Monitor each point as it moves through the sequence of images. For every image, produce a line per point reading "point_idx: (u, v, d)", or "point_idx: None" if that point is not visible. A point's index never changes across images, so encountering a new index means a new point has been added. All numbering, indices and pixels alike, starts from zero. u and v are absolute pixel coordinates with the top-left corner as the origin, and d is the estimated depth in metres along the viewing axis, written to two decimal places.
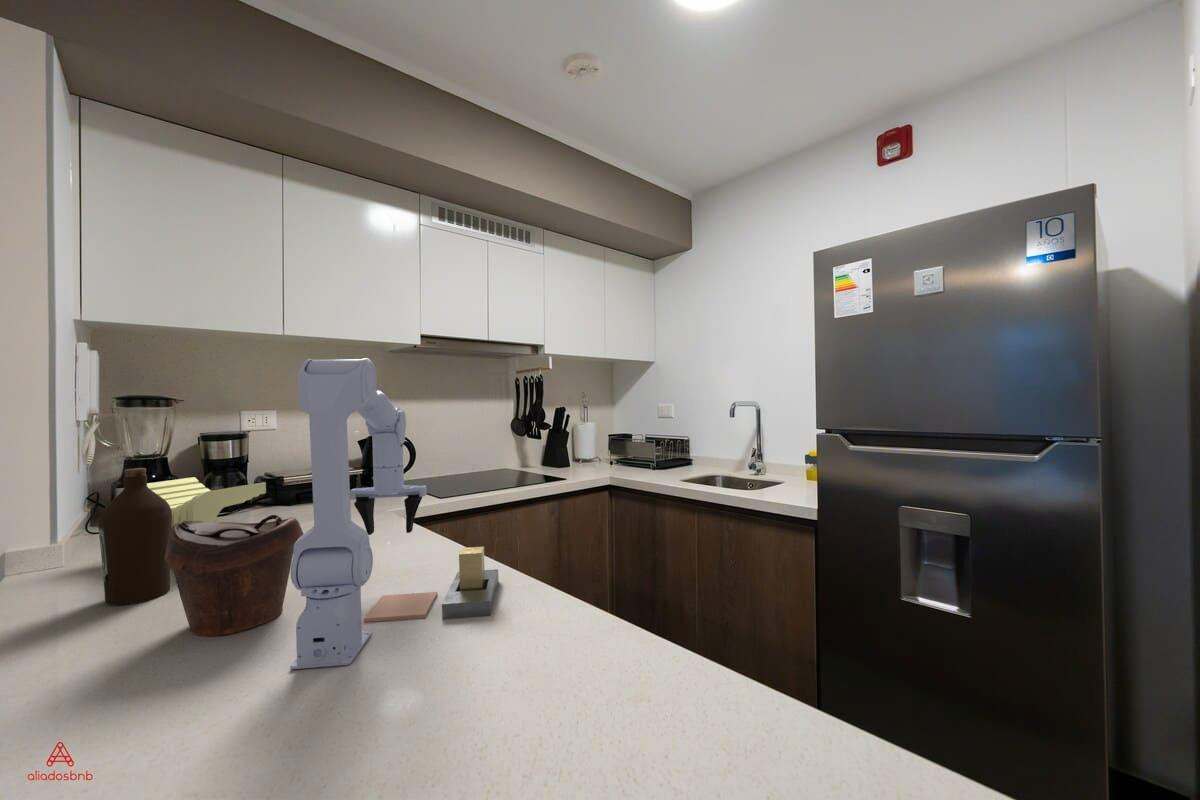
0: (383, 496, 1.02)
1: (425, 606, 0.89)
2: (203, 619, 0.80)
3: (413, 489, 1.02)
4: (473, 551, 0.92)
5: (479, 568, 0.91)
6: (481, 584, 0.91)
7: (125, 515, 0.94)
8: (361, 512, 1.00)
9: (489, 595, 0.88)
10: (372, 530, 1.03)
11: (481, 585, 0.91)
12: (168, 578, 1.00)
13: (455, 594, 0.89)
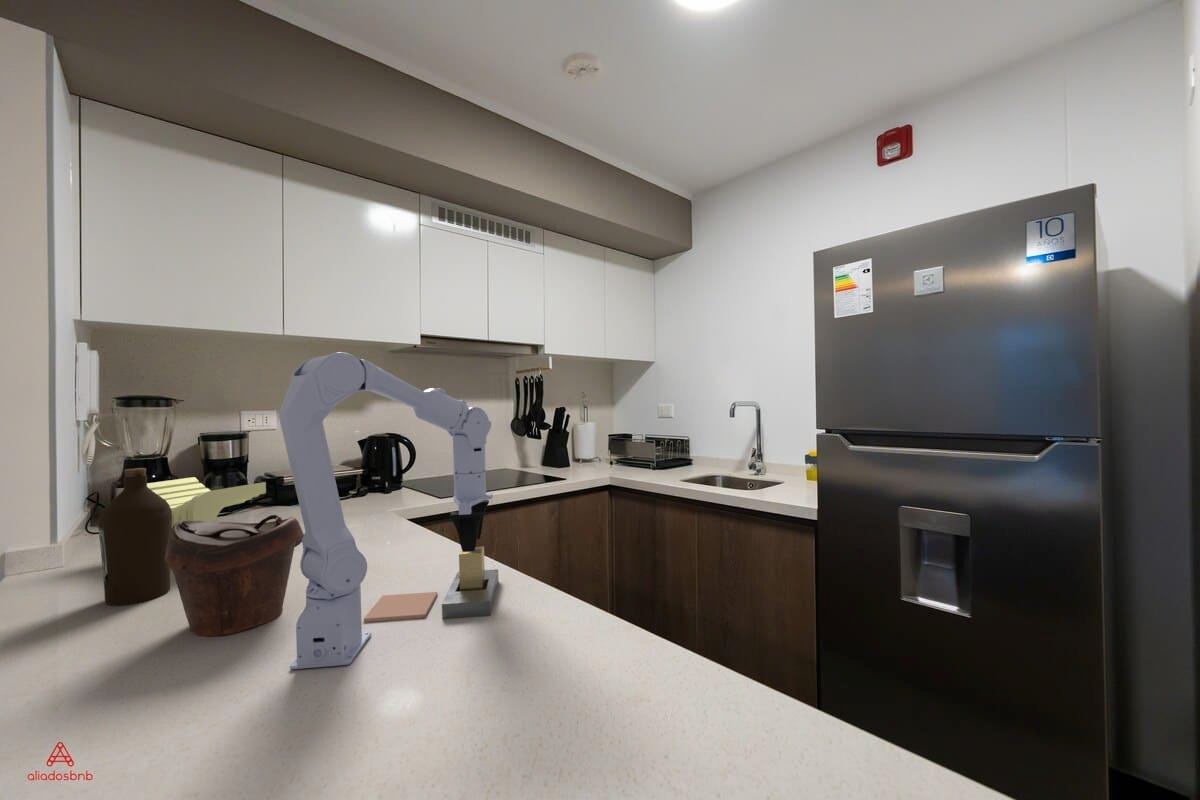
0: None
1: (425, 606, 0.89)
2: (203, 619, 0.80)
3: (458, 503, 0.88)
4: (473, 551, 0.92)
5: (479, 568, 0.91)
6: (481, 584, 0.91)
7: (125, 515, 0.94)
8: None
9: (489, 595, 0.88)
10: None
11: (481, 585, 0.91)
12: (168, 578, 1.00)
13: (455, 594, 0.89)
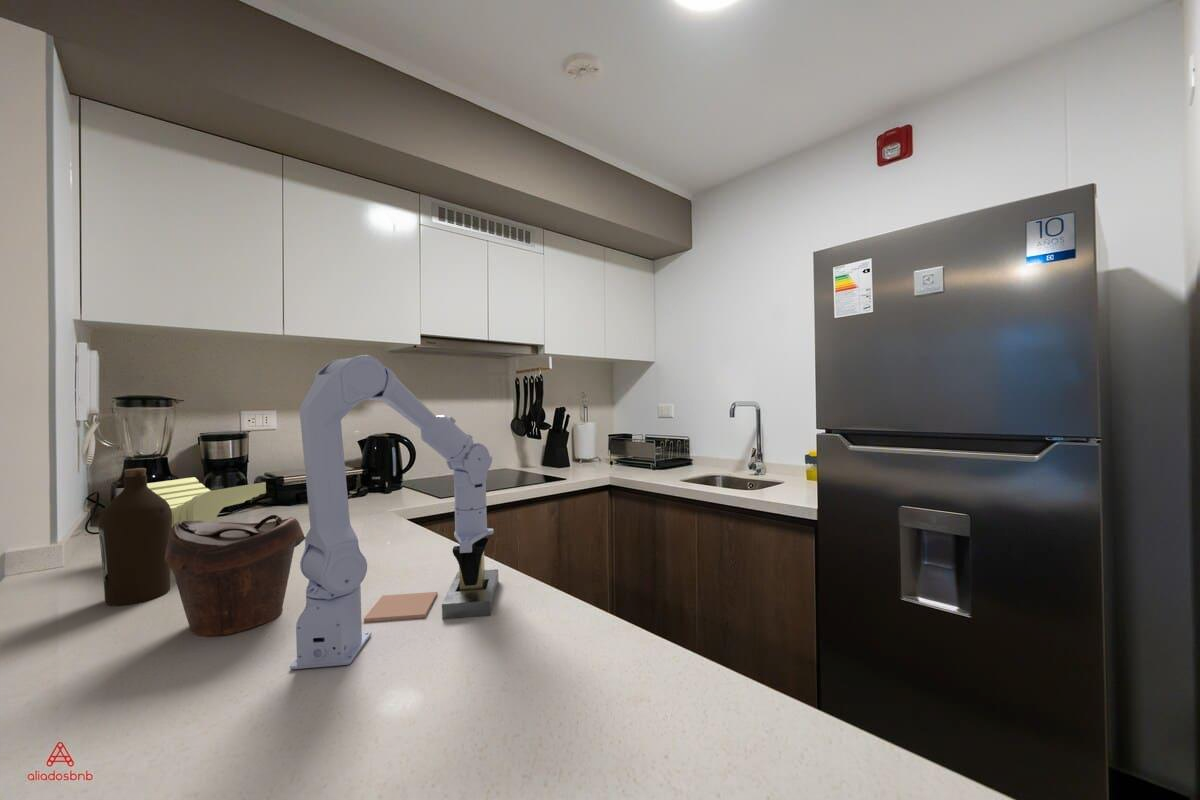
0: None
1: (425, 606, 0.89)
2: (203, 619, 0.80)
3: (459, 540, 0.88)
4: None
5: (479, 568, 0.91)
6: (481, 584, 0.91)
7: (125, 515, 0.94)
8: None
9: (489, 595, 0.88)
10: None
11: (481, 585, 0.91)
12: (168, 578, 1.00)
13: (455, 594, 0.89)
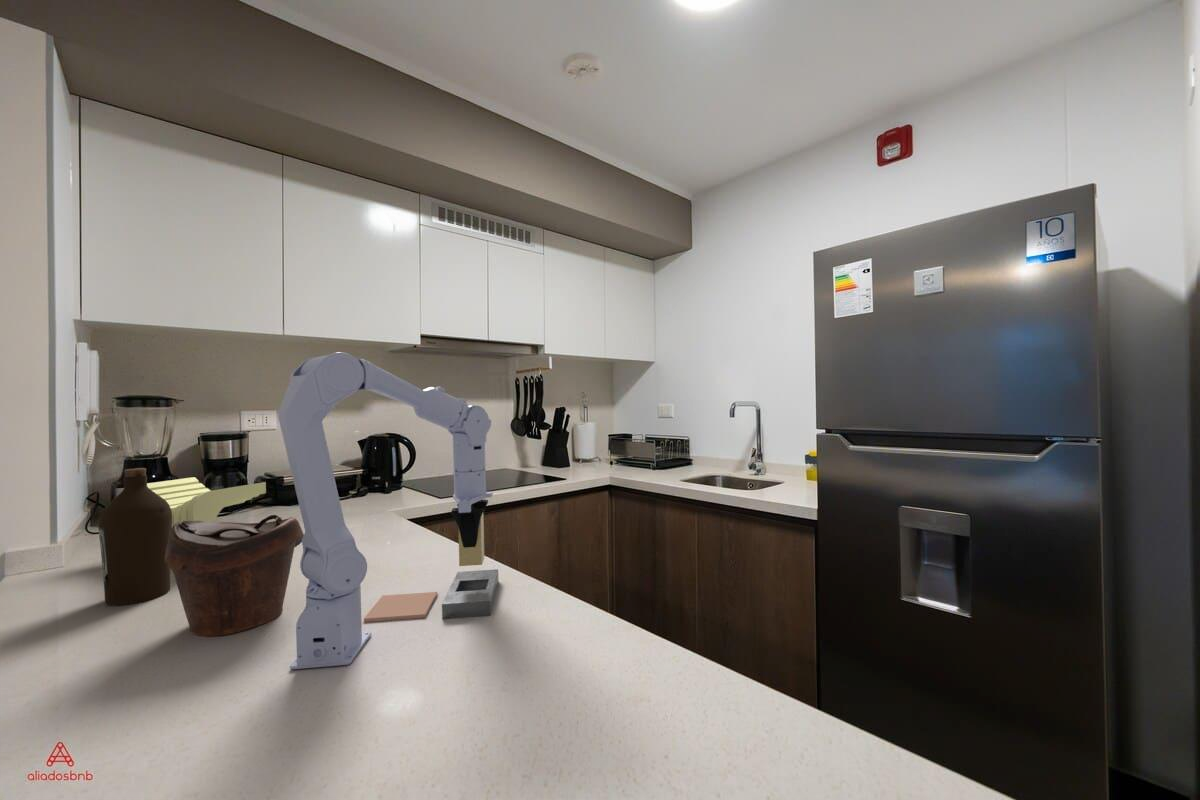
0: None
1: (425, 606, 0.89)
2: (203, 619, 0.80)
3: (458, 501, 0.88)
4: None
5: (478, 531, 0.91)
6: (480, 546, 0.91)
7: (125, 515, 0.94)
8: None
9: (489, 595, 0.88)
10: None
11: (480, 547, 0.91)
12: (168, 578, 1.00)
13: (455, 594, 0.89)
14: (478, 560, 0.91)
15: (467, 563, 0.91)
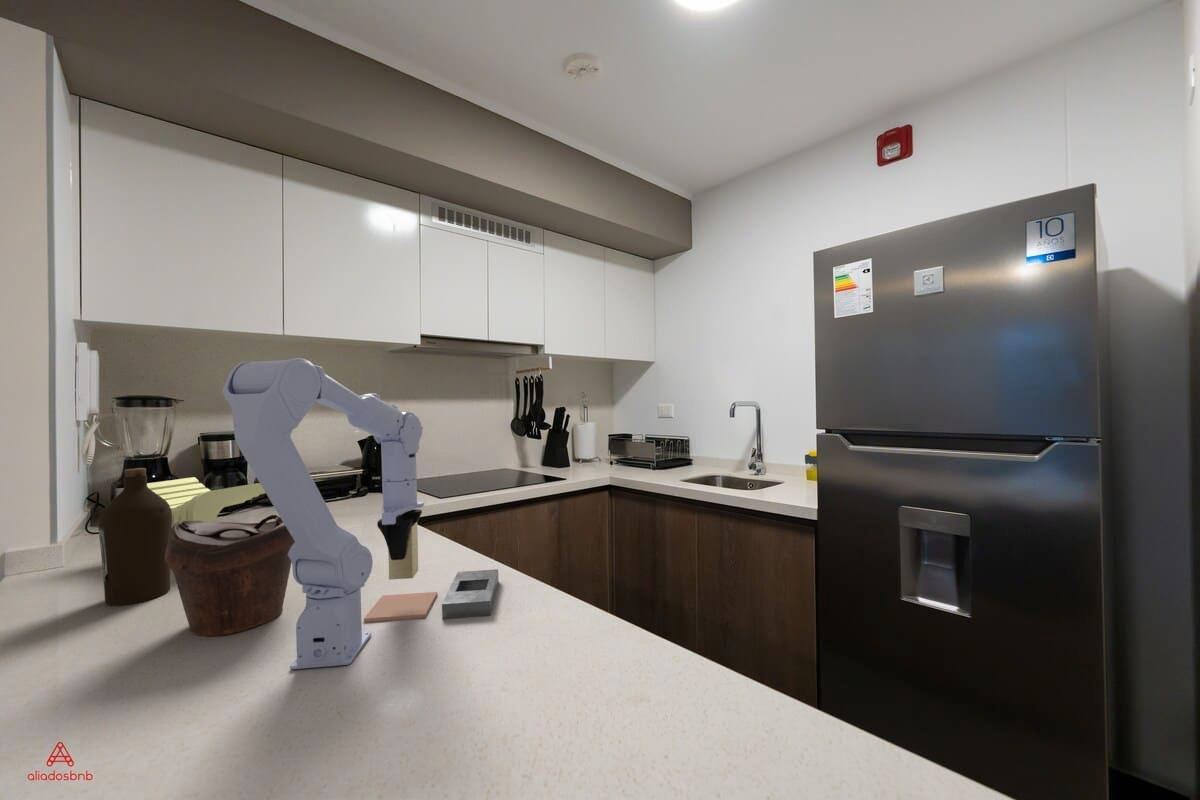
0: None
1: (425, 606, 0.89)
2: (203, 619, 0.80)
3: (383, 512, 0.84)
4: None
5: (409, 543, 0.88)
6: (411, 559, 0.88)
7: (125, 515, 0.94)
8: None
9: (489, 595, 0.88)
10: None
11: (411, 560, 0.88)
12: (168, 578, 1.00)
13: (455, 594, 0.89)
14: (409, 574, 0.88)
15: (397, 576, 0.88)
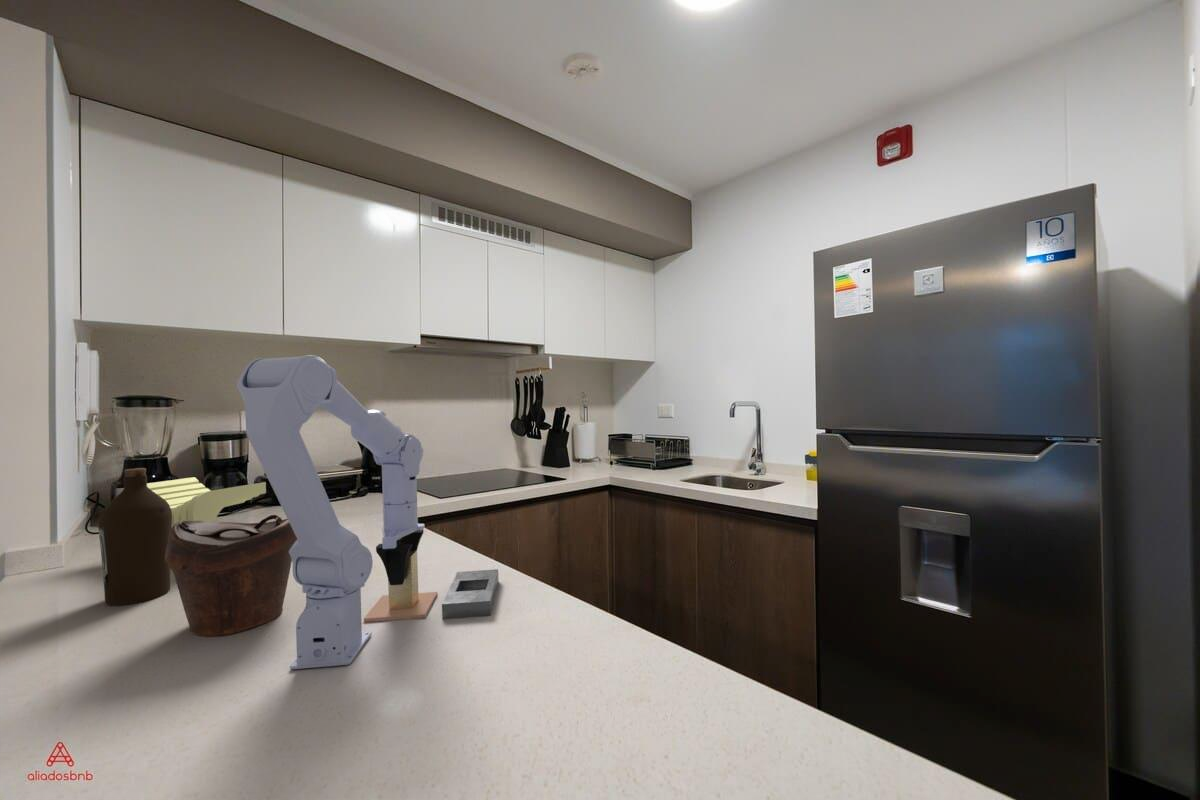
0: None
1: (425, 606, 0.89)
2: (203, 619, 0.80)
3: (384, 536, 0.84)
4: None
5: (409, 572, 0.88)
6: (411, 589, 0.88)
7: (125, 515, 0.94)
8: None
9: (489, 595, 0.88)
10: None
11: (411, 590, 0.88)
12: (168, 578, 1.00)
13: (455, 594, 0.89)
14: (409, 603, 0.88)
15: (397, 606, 0.88)
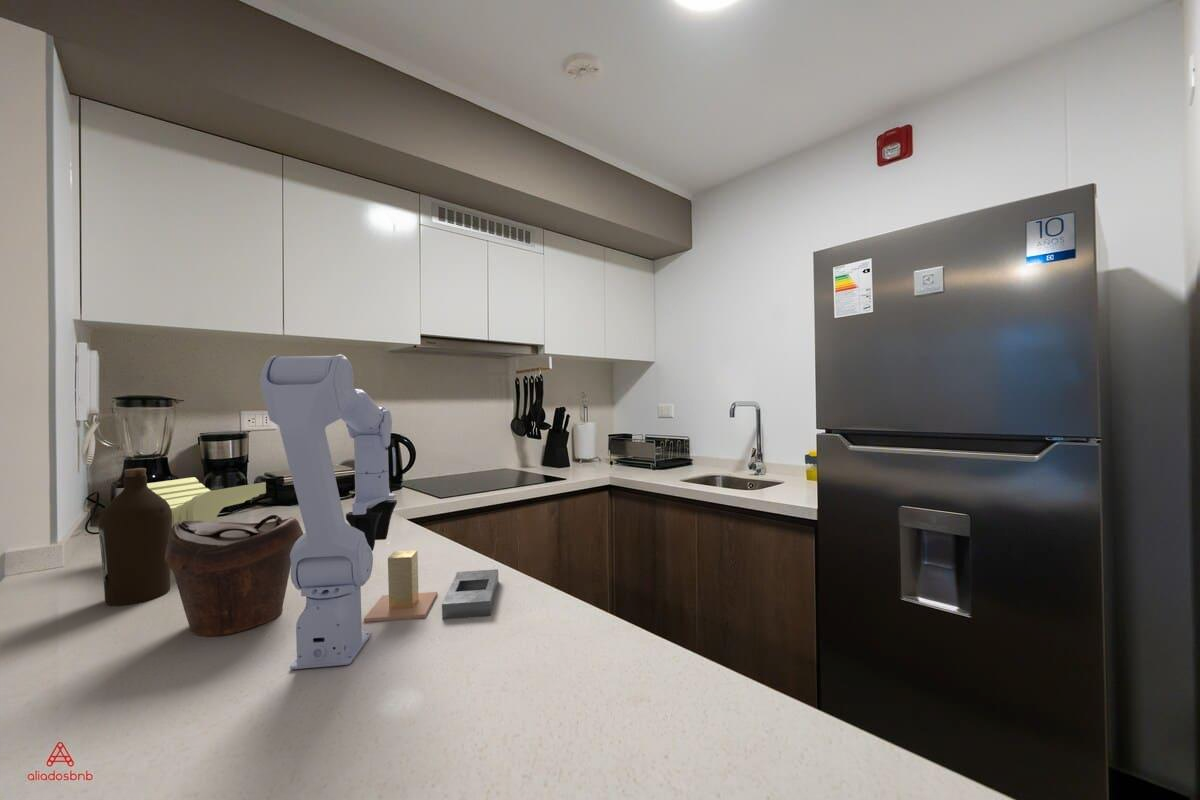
0: None
1: (425, 606, 0.89)
2: (203, 619, 0.80)
3: (354, 503, 0.88)
4: (403, 555, 0.89)
5: (409, 573, 0.88)
6: (411, 589, 0.88)
7: (125, 515, 0.94)
8: None
9: (489, 595, 0.88)
10: (380, 536, 0.96)
11: (411, 590, 0.88)
12: (168, 578, 1.00)
13: (455, 594, 0.89)
14: (409, 604, 0.88)
15: (397, 606, 0.88)
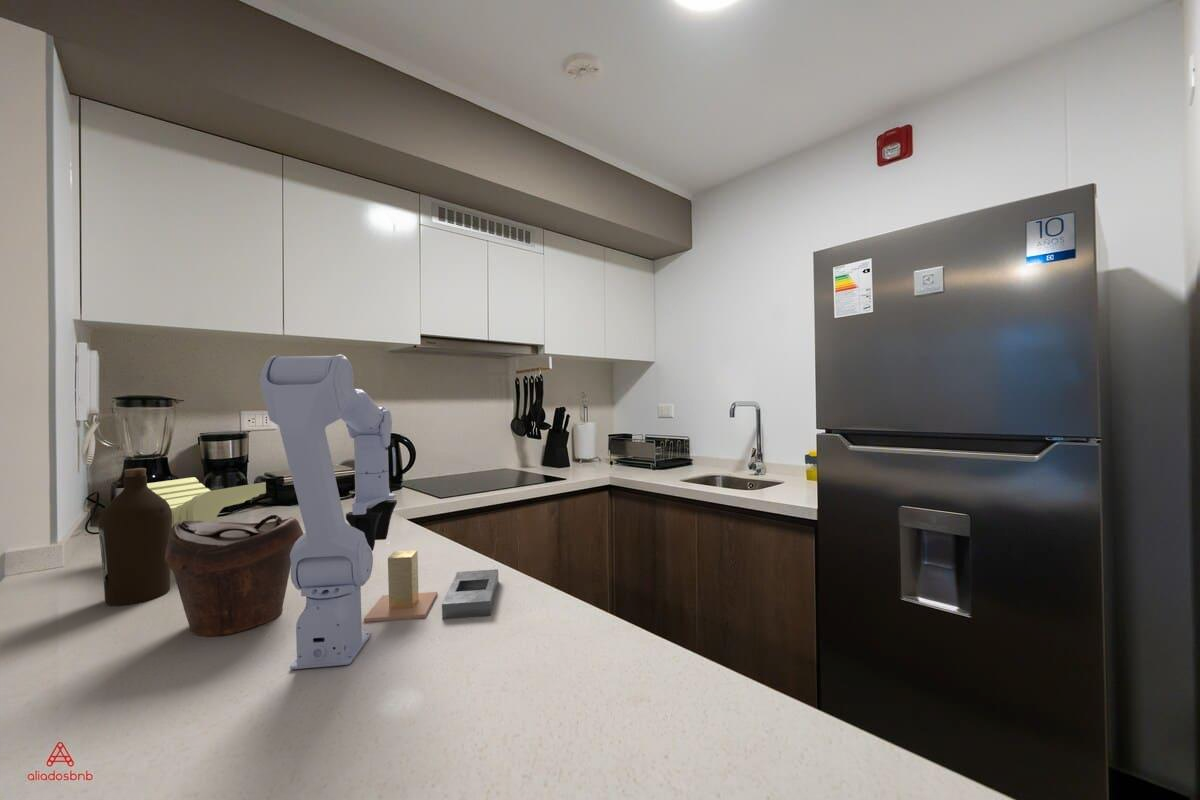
0: None
1: (425, 606, 0.89)
2: (203, 619, 0.80)
3: (354, 503, 0.88)
4: (403, 555, 0.89)
5: (409, 573, 0.88)
6: (411, 589, 0.88)
7: (125, 515, 0.94)
8: None
9: (489, 595, 0.88)
10: (380, 536, 0.96)
11: (411, 590, 0.88)
12: (168, 578, 1.00)
13: (455, 594, 0.89)
14: (409, 604, 0.88)
15: (397, 606, 0.88)
